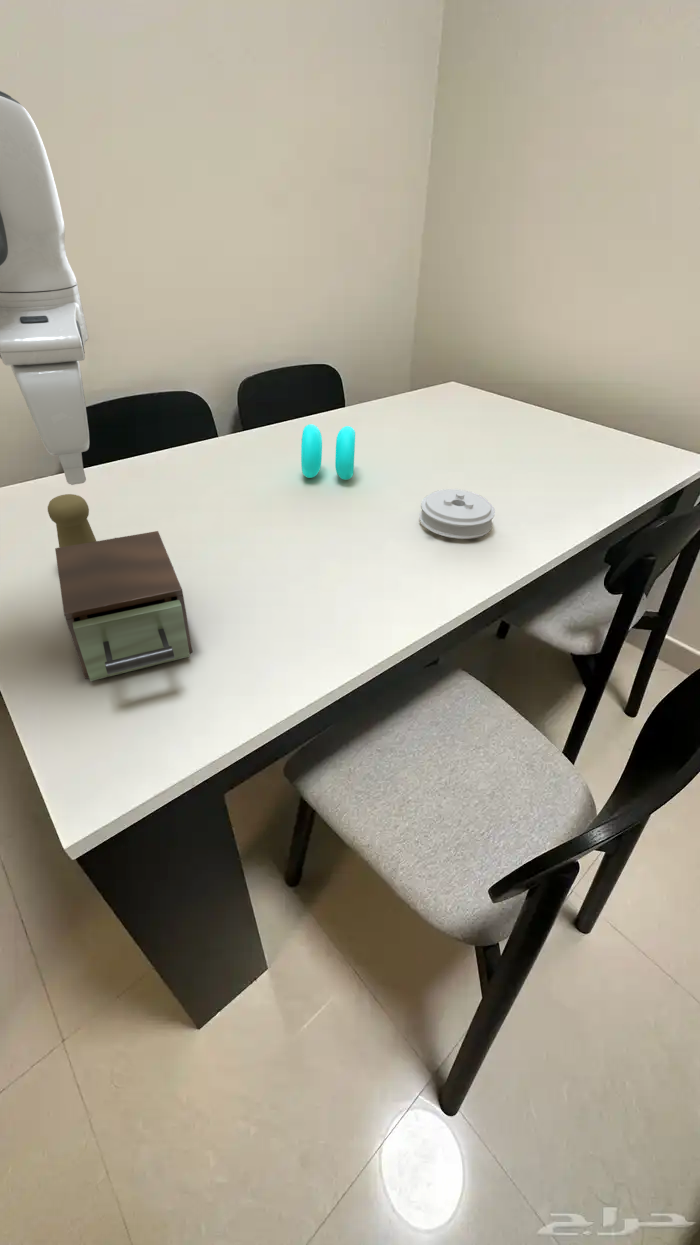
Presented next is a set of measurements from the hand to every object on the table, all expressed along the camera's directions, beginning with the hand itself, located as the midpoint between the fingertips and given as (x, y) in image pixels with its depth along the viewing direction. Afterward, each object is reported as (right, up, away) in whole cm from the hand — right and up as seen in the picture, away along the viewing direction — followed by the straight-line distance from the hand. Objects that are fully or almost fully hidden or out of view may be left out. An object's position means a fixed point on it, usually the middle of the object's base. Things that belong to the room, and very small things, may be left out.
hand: (71, 463), depth 62 cm
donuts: (+25, +12, +54) cm, 60 cm away
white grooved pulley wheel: (+48, 0, +40) cm, 63 cm away
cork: (-10, -9, +25) cm, 28 cm away
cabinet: (+1, -18, +14) cm, 23 cm away
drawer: (+3, -20, +10) cm, 22 cm away
